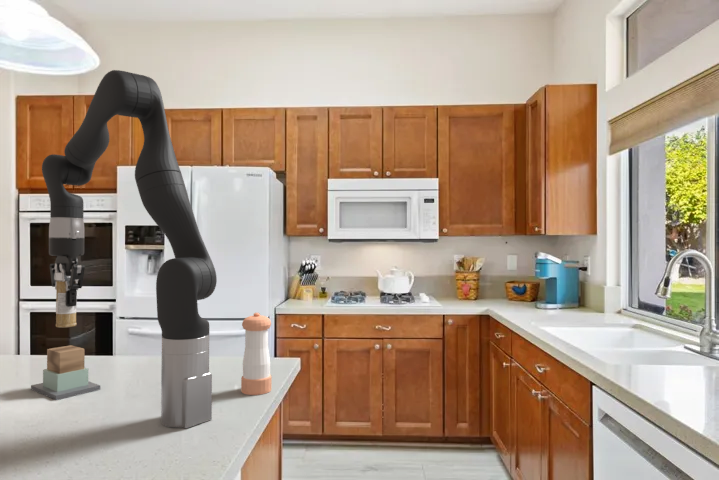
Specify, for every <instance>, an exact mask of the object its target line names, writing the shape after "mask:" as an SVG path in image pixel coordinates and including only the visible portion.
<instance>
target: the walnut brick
mask: <svg viewBox="0 0 719 480" xmlns="http://www.w3.org/2000/svg"><path fill="white" fill-rule="evenodd" d="M85 352H86V351H85V348H83V347H80V346H76V345H71V344H70V345H66V346H58V347H52V348H47V349H46V369H47V370H50V371H53V372H56V373H59V374H62V373H67V372H72V371H77V370H82V369H84V367H85V356H86V355H85Z"/></svg>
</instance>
